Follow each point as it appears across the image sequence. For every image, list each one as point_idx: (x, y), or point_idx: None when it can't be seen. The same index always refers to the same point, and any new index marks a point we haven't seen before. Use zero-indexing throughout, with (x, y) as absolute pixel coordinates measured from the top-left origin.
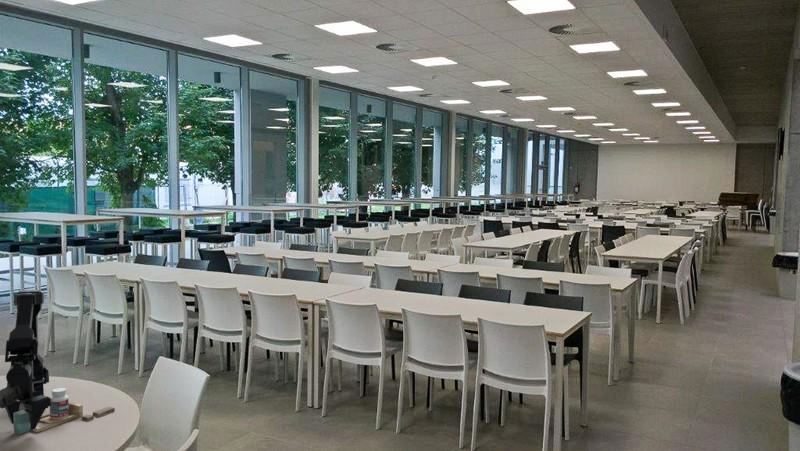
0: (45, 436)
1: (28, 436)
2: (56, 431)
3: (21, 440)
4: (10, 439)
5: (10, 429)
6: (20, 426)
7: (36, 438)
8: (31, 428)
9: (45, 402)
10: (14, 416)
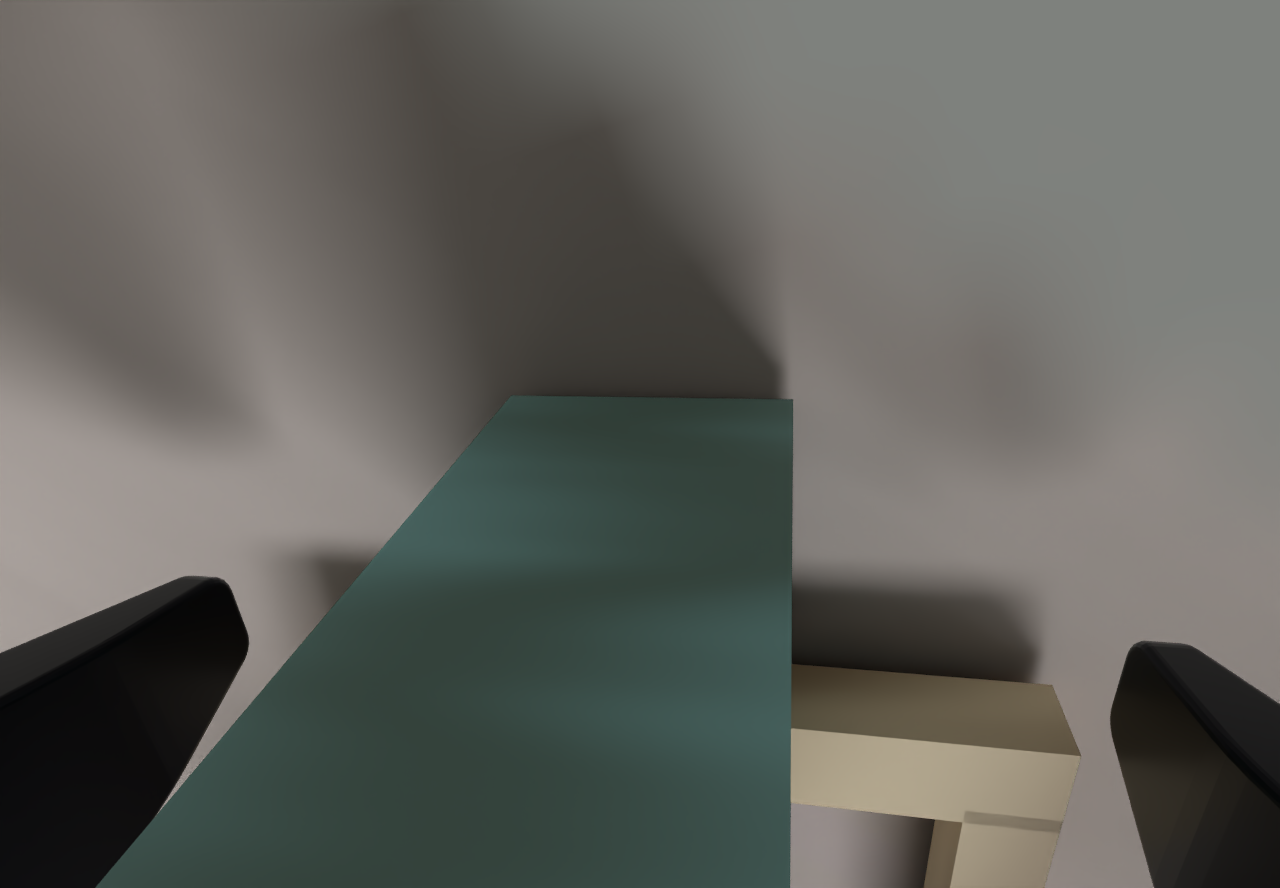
0: (69, 565)
1: (287, 425)
2: (191, 758)
3: (138, 192)
4: (412, 57)
5: (1146, 506)
6: (412, 524)
7: (62, 433)
8: (156, 588)
9: None
10: (676, 855)
